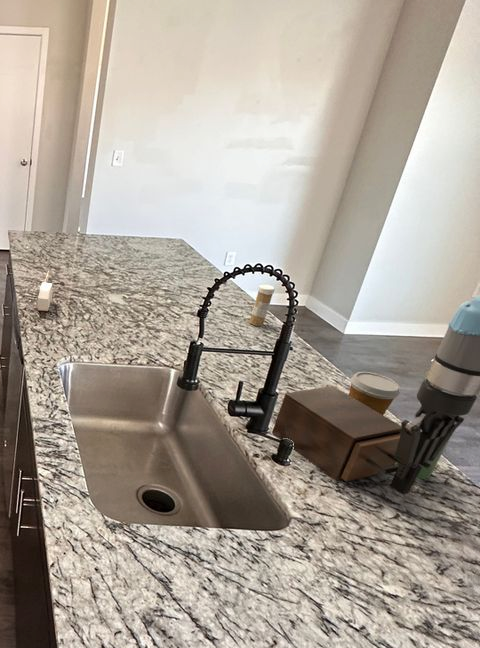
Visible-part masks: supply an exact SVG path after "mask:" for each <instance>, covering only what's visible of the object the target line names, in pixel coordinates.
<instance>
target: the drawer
mask: <svg viewBox="0 0 480 648" xmlns="http://www.w3.org/2000/svg"><path fill="white" fill-rule="evenodd" d="M400 435H401V433H400V434H396V435H391V436H390V434H388V435H383V436H378V437H373V438H368V439H363V440H358V441H355V444H354V446H353V448H352V451H351V453H350V455H349V457H348V460H347V462H346V464H345V467H344V469H343V470H344V471H343V474H342V476H341V478H342V479H341V480H343V481H345V482H349V481H354V480H358V479H362V478H368V477H371V476H376V475H381V476H385V475H388V474H392V473H396V471H397V469H398V467H399V465H400V462H399V461H397V460H396V459H394V457H395V453H396V450H397V446H398V443H399V439H400ZM396 462H398V464H396Z"/></svg>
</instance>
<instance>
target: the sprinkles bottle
mask: <svg viewBox="0 0 480 648" xmlns="http://www.w3.org/2000/svg"><path fill="white" fill-rule="evenodd" d="M274 293H275V287H274V286H272V285H269V284H260V285H259V286H258V289H257V295H256V298H255V301H254V303H253V308H252V311H251V315H250V318H249V320H248V323H249V324H250V325H252V326H255V327H256V326H257V327H263V326H264V325H265V319H266V317H267V314H268V311H269V308H270V305H271V300H272V299H273V298H272V297H273V295H274Z"/></svg>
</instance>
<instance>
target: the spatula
mask: <svg viewBox="0 0 480 648" xmlns="http://www.w3.org/2000/svg"><path fill="white" fill-rule="evenodd" d="M49 275H50V270H48V271H47V274H46V276H45V279H44V281H43V282H41V284H40V287H39V292H38V297H37V303H36V306H37V311H43V312H48V311H49V309H50V306H51V305H50V304H51V302H52V299H53V282H48V281H49V277H50V276H49Z"/></svg>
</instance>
